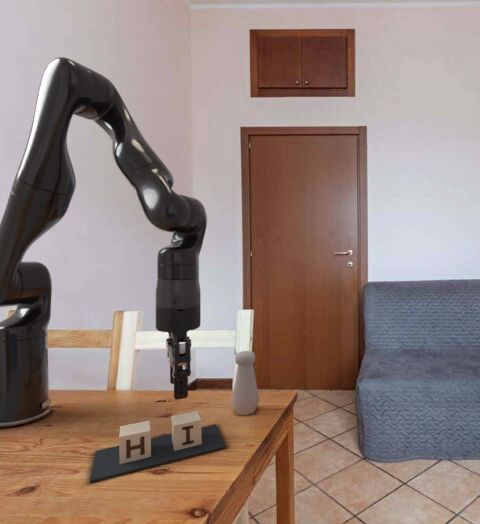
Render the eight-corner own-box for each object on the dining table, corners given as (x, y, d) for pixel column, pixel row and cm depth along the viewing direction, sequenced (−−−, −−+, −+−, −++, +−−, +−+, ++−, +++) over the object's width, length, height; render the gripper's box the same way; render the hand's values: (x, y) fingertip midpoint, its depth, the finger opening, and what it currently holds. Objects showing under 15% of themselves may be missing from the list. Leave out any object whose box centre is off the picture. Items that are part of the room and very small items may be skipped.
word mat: (89, 483, 56) (89, 480, 56) (95, 453, 65) (95, 450, 65) (226, 448, 66) (226, 445, 66) (215, 425, 75) (215, 424, 75)
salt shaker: (251, 418, 78) (251, 356, 78) (226, 415, 79) (226, 355, 79) (263, 406, 84) (263, 349, 84) (240, 405, 85) (239, 348, 85)
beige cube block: (174, 451, 64) (173, 425, 64) (171, 440, 68) (171, 415, 68) (201, 444, 66) (201, 419, 66) (198, 434, 70) (197, 410, 70)
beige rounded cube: (119, 464, 60) (119, 437, 60) (120, 451, 64) (120, 426, 64) (151, 457, 62) (150, 430, 62) (150, 445, 66) (149, 420, 66)
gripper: (154, 299, 73) (154, 381, 73) (157, 309, 61) (157, 408, 61) (195, 297, 77) (195, 376, 77) (206, 307, 64) (206, 399, 65)
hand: (178, 390), depth 69 cm, fingers open, 8 cm apart
